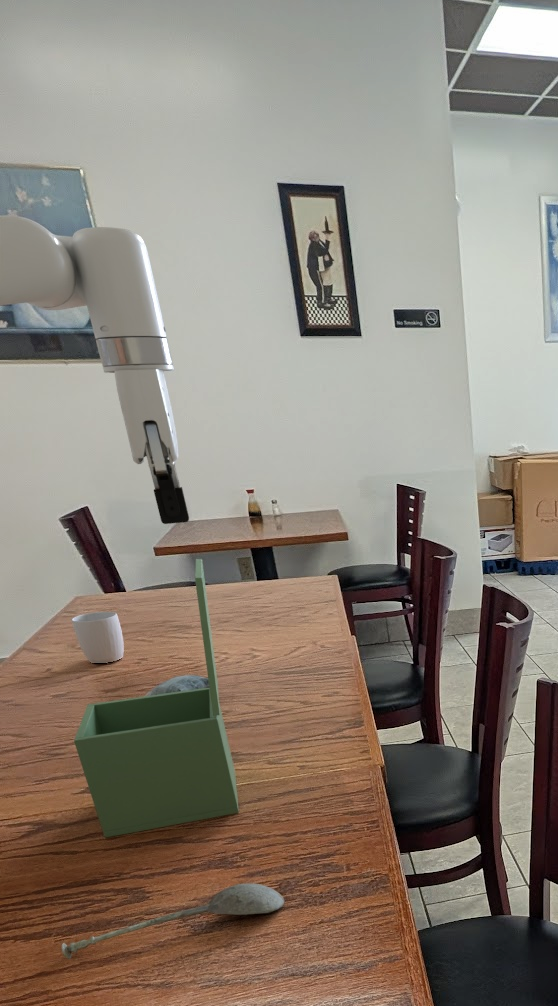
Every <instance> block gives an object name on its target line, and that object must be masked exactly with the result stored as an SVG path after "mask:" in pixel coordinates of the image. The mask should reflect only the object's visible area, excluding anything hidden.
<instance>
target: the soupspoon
mask: <svg viewBox="0 0 558 1006" xmlns="http://www.w3.org/2000/svg"><path fill="white" fill-rule="evenodd" d="M284 904H285V898H284V897H283V895H282V894H281V893H279V892H278V891H277V890H275V889H274V888H272V887H269V886H268V885H265V884H259V883H251V882H249V883H248V882H246V883H238V884H237V883H236V884H234V885H231V886H227V887H225V888H224V889H222V890H221V891H219V892H218V893H216V894H215V895H214V896H213V897H212V899H210V900H209V902H208V904H206V905H201V906H197V907H193V908H188V909H184V910H179V911H176V912H173V913H169V914H165V915H162V916H159V917H156V918H153V919H149V920H146V921H143V922H139V923H136V924H133V925H129V926H127V927H123V928H120V929H117V930H113V931H110V932H107V933H103V934H101V935H98V936H95V937H94V936H93V935H92V936H90V937H89V939H81V940H79V941H77V942H70V943H69V946H68V945H67V944H66V943H65V942H63V943H62V944H61V951H62V954H63V956H64V957H65V958H66V959H68V960H70V959H71V958H72V953H73V954H77V953H78V951H81V950H82V949H86V948H88V947H89V946H91V945H93V946H94V945H96V944H97V943H99V942H102V941H105V940H108V939H112V938H115V937H118V936H121V935H122V936H123V935H125V934H129V933H132V932H135V931H138V930H142V929H146V928H148V927H149V928H150V927H152V926H156V925H159V924H162V923H167V922H169V921H172V920H173V921H174V920H177V919H178V920H179V919H182V918H186V917H190V916H195V915H201V914H205V913H211V914H214V915H215V914H216V915H234V916H239V915H241V916H243V915H255V914H270V913H272V912H274V911H278V910H279V909H281V908H283V906H284Z"/></svg>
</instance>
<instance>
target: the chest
mask: <svg viewBox="0 0 558 1006" xmlns="http://www.w3.org/2000/svg"><path fill="white" fill-rule="evenodd" d="M219 711H220V715H216V716H213V711H212V703H211V695H210V688H201V689H194V690H187V691H180V692H173V693H165V694H158V695H151V696H145V695H144V696H138V697H137V696H136V697H130V698H124V699H117V700H110V701H109V700H108V701H102V702H95V703H89V704H88V703H87V705H86V708H85V710H84V713H83V716H82V719H81V721H80V724H79V726H78V729H77V731H76V733H75V734H76V735H75V737H74V740H73V743H74V745H75V749H76V752H77V755H78V758H79V761H80V766H81V767H82V770H83V774H84V777H85V780H86V783H87V787H88V789H89V794H90V796H91V799H92V802H93V805H94V808H95V811H96V815H97V818H98V821H99V824H100V827H101V830H102V834H103V837H104V838H105V839H107V838H111V837H117V836H123V835H127V834H133V833H137V832H144V831H150V830H154V829H160V828H164V827H165V828H166V827H170V826H171V827H172V826H175V825H181V824H186V823H192V822H197V821H202V820H208V819H213V818H218V817H224V816H229V815H234V814H239V813H240V811H239V810H240V809H239V799H238V789H237V788H238V787H237V778H236V769H235V765H234V761H233V757H232V756H233V755H232V752H231V748H230V744H229V739H228V734H227V730H226V727H225V720H224V716H223V713H222V710H221V703H219Z"/></svg>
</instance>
